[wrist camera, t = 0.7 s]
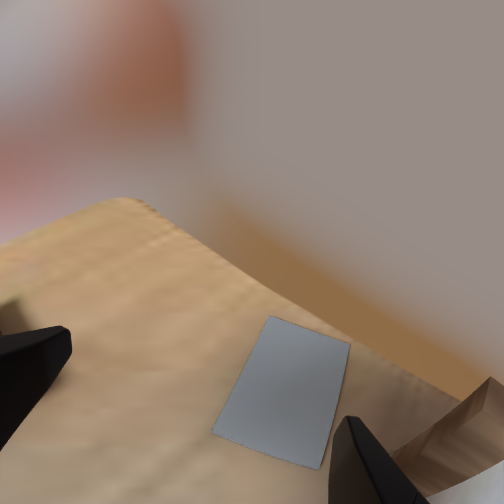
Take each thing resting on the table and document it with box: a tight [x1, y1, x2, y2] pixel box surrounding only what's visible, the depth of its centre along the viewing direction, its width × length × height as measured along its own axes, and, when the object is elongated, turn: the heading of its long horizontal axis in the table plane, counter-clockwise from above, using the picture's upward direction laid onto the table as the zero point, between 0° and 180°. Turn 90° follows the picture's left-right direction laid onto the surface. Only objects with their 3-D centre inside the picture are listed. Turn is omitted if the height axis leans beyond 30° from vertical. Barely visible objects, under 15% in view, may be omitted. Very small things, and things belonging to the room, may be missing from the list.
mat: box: [212, 316, 350, 470], centre depth 26 cm, size 14×9×1 cm, turn 159°
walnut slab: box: [392, 377, 504, 498], centre depth 15 cm, size 3×5×12 cm, turn 46°
